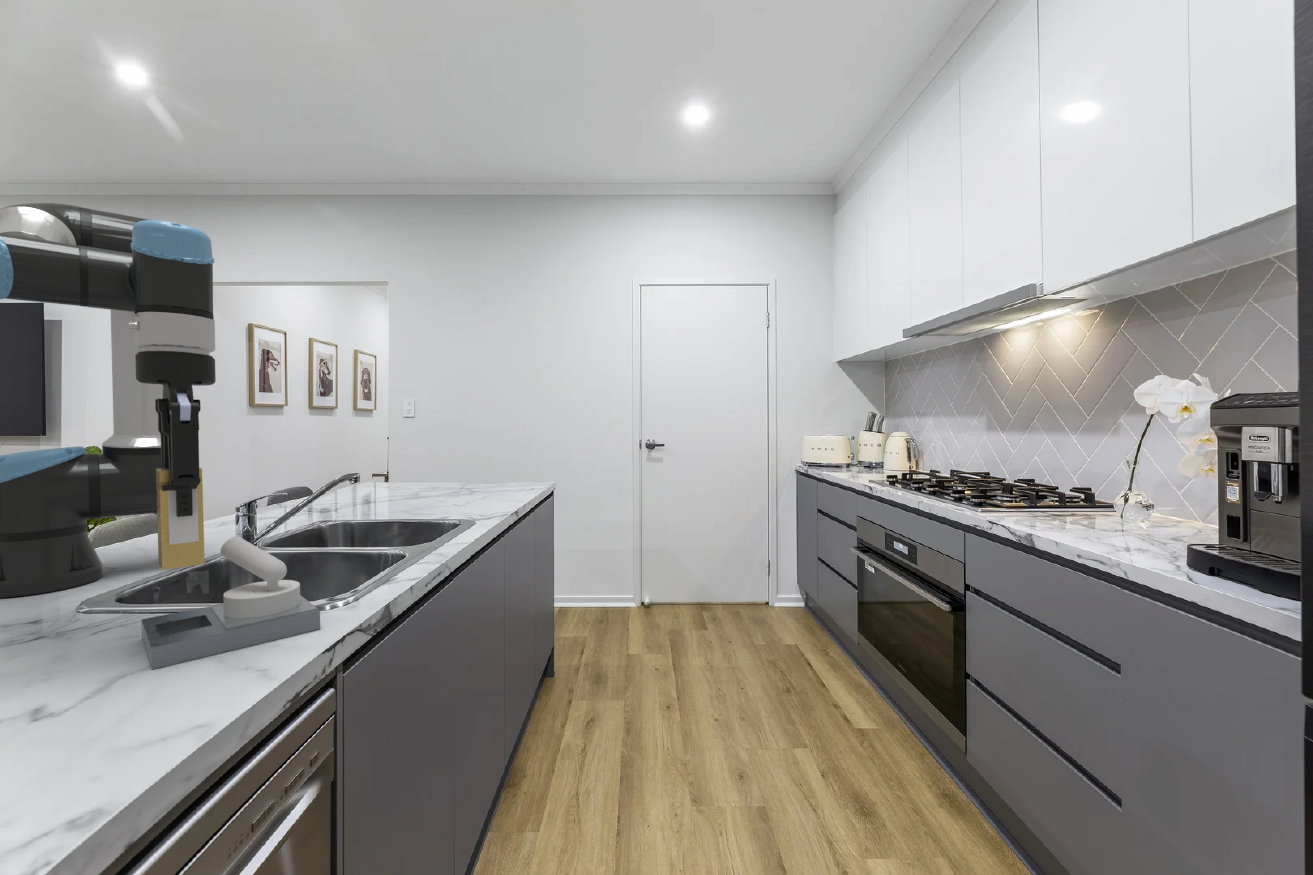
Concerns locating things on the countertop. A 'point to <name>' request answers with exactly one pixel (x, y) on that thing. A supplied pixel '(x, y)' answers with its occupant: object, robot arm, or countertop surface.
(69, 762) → the countertop surface
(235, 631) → the block
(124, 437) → the robot arm
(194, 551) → the yellow block
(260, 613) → the white tilted spotlight lamp
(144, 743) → the countertop surface
